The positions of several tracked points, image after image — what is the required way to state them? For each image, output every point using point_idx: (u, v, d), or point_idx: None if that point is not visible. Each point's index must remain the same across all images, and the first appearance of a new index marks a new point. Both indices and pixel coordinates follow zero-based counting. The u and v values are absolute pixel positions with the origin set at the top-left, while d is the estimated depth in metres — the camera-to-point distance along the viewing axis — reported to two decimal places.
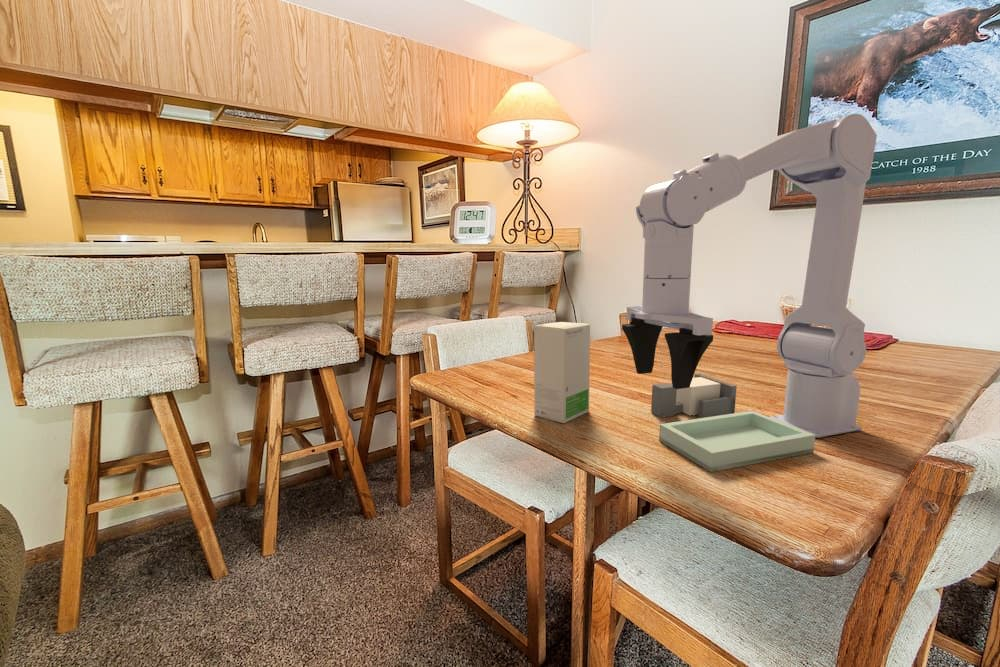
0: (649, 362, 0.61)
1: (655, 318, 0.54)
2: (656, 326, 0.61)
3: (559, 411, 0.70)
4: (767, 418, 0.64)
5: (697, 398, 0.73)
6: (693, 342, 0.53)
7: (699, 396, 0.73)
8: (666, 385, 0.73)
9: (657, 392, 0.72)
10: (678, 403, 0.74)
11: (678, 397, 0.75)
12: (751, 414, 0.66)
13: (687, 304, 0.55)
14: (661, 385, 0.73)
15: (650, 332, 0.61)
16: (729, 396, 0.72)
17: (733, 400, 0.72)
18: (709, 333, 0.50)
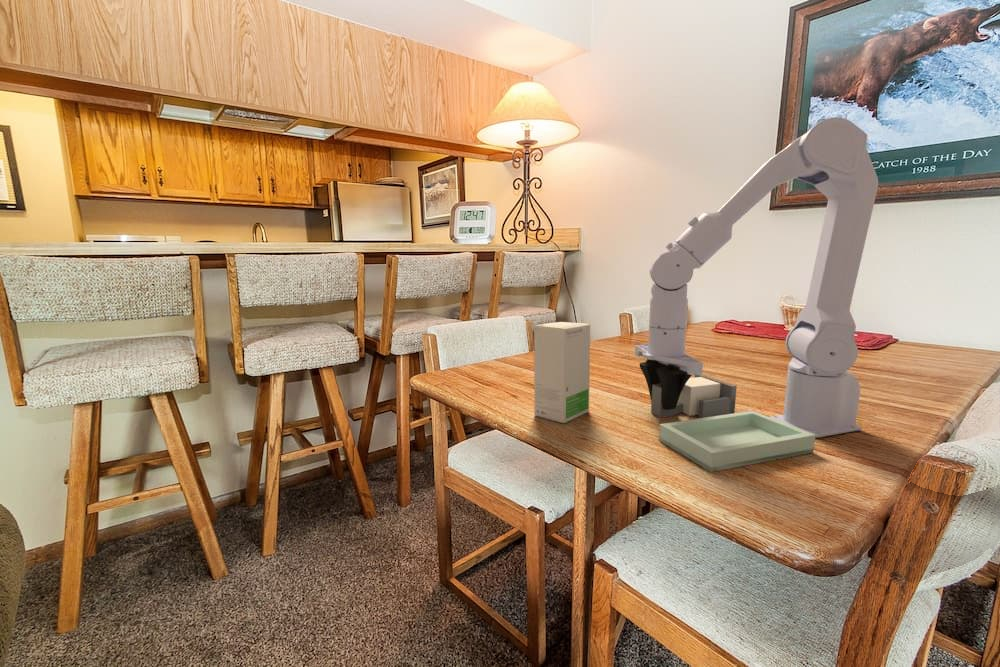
0: None
1: (658, 359, 0.70)
2: (668, 365, 0.74)
3: (559, 411, 0.70)
4: (767, 418, 0.64)
5: (697, 398, 0.73)
6: (678, 375, 0.71)
7: (699, 396, 0.73)
8: None
9: (657, 392, 0.72)
10: (678, 403, 0.74)
11: None
12: (751, 414, 0.66)
13: (683, 348, 0.70)
14: None
15: None
16: (729, 396, 0.72)
17: (733, 400, 0.72)
18: (700, 373, 0.66)
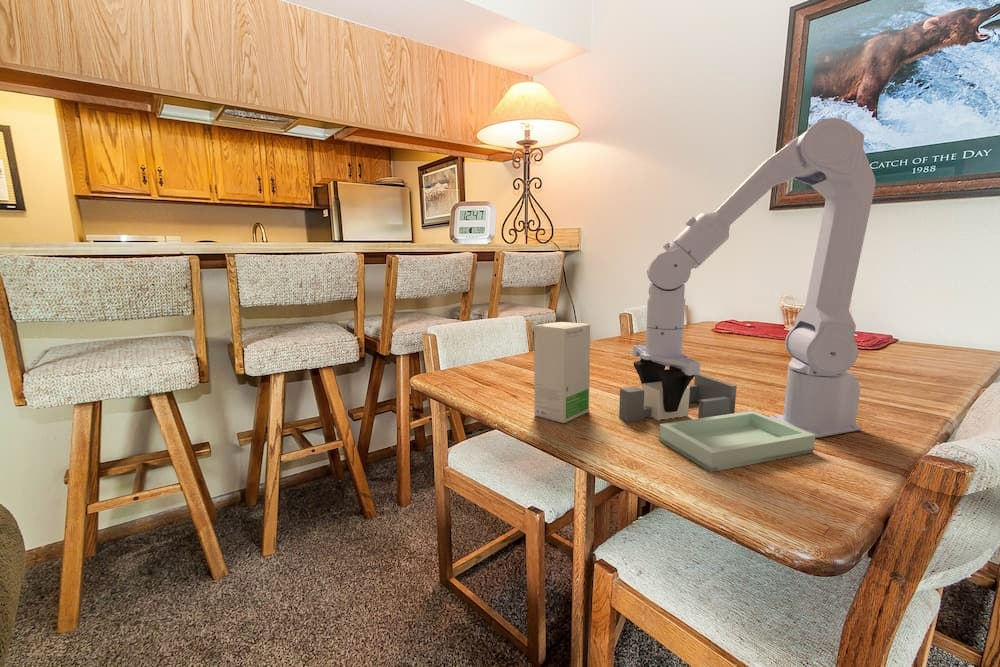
0: None
1: (656, 359, 0.70)
2: (661, 364, 0.75)
3: (559, 411, 0.70)
4: (767, 418, 0.64)
5: None
6: (680, 376, 0.70)
7: None
8: (634, 389, 0.71)
9: (624, 396, 0.71)
10: (647, 407, 0.72)
11: (647, 401, 0.73)
12: (751, 414, 0.66)
13: (681, 348, 0.70)
14: (629, 389, 0.71)
15: (657, 368, 0.75)
16: (729, 396, 0.72)
17: (733, 400, 0.72)
18: (697, 373, 0.65)
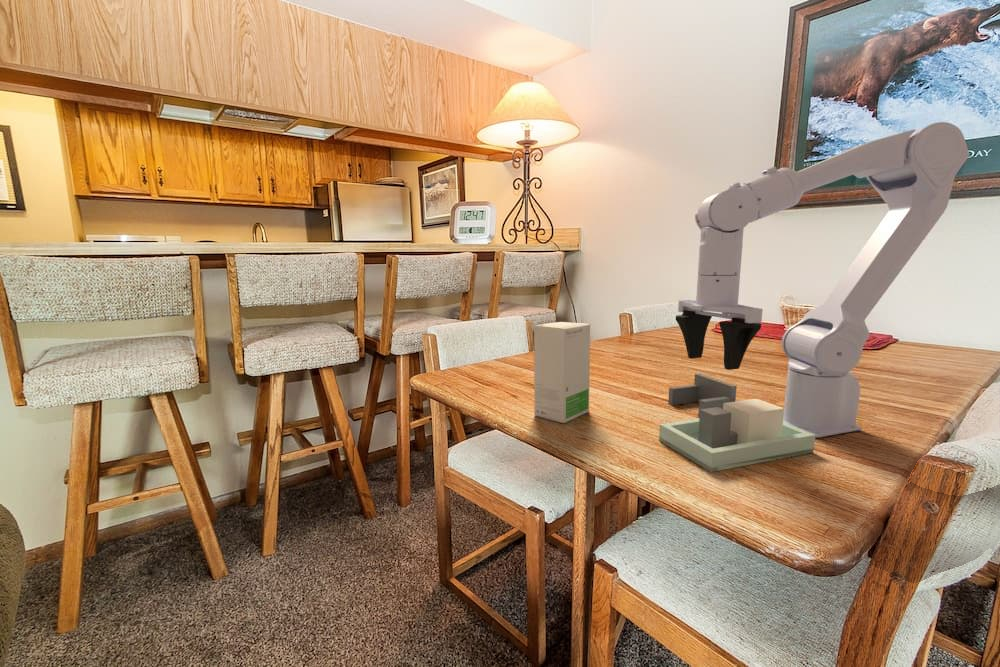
0: (699, 348, 0.71)
1: (710, 309, 0.64)
2: (706, 317, 0.70)
3: (559, 411, 0.70)
4: None
5: (756, 427, 0.58)
6: (743, 329, 0.63)
7: (759, 424, 0.59)
8: (718, 411, 0.59)
9: (706, 420, 0.58)
10: (731, 432, 0.60)
11: (731, 424, 0.61)
12: None
13: (737, 297, 0.64)
14: (711, 411, 0.59)
15: (701, 322, 0.70)
16: (729, 396, 0.72)
17: (733, 400, 0.72)
18: (759, 321, 0.60)
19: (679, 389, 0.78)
